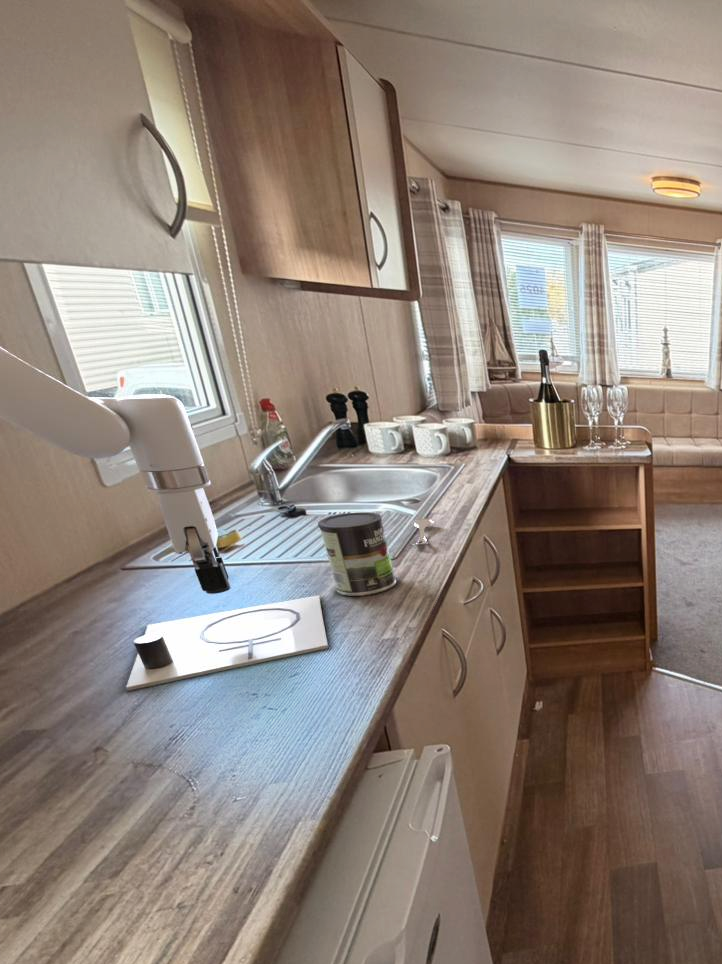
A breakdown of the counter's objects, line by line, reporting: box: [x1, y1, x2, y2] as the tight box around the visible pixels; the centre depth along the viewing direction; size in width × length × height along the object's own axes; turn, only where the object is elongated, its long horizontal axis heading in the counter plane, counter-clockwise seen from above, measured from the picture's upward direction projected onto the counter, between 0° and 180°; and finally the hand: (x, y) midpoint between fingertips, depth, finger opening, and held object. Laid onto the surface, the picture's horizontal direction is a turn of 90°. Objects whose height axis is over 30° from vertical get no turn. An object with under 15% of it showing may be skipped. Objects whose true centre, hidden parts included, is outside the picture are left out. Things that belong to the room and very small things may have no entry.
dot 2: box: [205, 562, 232, 595], centre depth 107 cm, size 3×3×4 cm
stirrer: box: [411, 518, 434, 546], centre depth 155 cm, size 20×4×5 cm
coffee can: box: [317, 511, 397, 597], centre depth 126 cm, size 10×10×14 cm
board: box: [125, 594, 329, 692], centre depth 107 cm, size 24×24×1 cm
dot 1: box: [132, 634, 173, 669], centre depth 97 cm, size 3×3×4 cm
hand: (216, 584), depth 107 cm, fingers closed on dot 2, 3 cm apart
